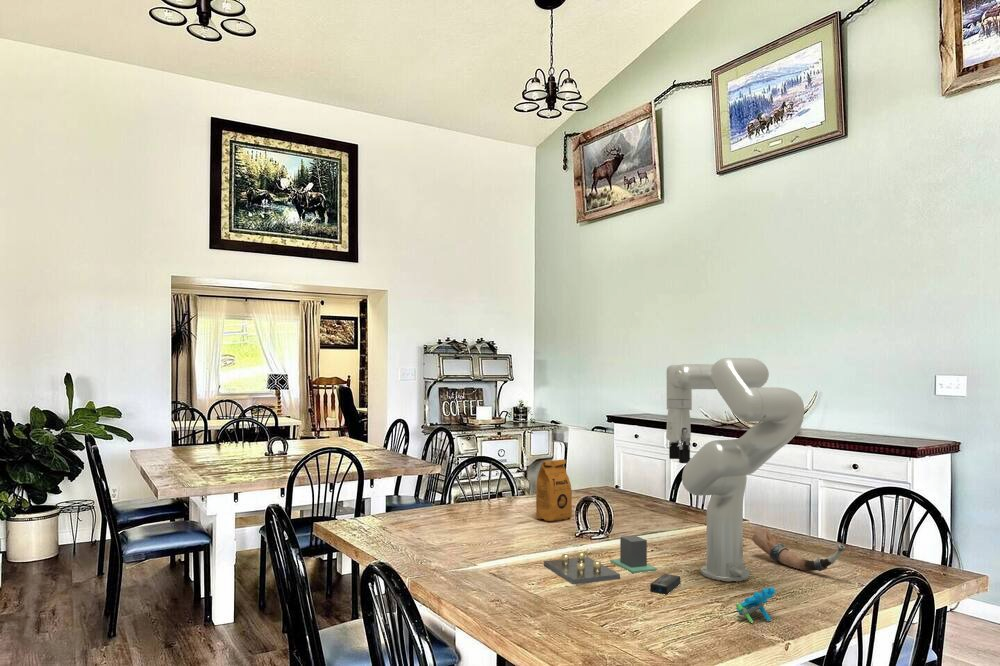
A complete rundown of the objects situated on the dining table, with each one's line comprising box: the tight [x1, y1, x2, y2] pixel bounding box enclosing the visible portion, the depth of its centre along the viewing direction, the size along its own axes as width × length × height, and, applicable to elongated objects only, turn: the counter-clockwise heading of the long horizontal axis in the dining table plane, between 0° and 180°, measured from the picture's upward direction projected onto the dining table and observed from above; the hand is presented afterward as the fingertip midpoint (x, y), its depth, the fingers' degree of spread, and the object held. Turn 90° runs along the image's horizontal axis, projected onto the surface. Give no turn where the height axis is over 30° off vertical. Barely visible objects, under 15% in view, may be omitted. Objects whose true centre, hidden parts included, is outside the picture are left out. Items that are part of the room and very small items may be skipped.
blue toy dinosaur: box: [735, 586, 777, 623], centre depth 157 cm, size 11×6×10 cm
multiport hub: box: [649, 573, 681, 596], centre depth 178 cm, size 4×11×2 cm, turn 147°
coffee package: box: [535, 458, 573, 522], centre depth 256 cm, size 10×12×22 cm
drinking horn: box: [751, 528, 846, 572], centre depth 197 cm, size 6×30×10 cm, turn 28°
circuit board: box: [609, 535, 658, 574], centre depth 197 cm, size 12×8×8 cm, turn 22°
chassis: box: [543, 551, 621, 585], centre depth 191 cm, size 18×14×4 cm
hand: (679, 460), depth 212 cm, fingers open, 9 cm apart
